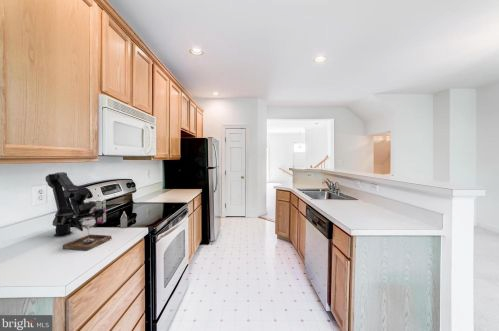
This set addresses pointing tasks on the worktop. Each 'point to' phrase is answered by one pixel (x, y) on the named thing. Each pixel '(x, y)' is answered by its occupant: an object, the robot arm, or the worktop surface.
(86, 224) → the wineglass
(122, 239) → the worktop surface
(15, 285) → the worktop surface
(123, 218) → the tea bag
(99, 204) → the candy bar box
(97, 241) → the tray
